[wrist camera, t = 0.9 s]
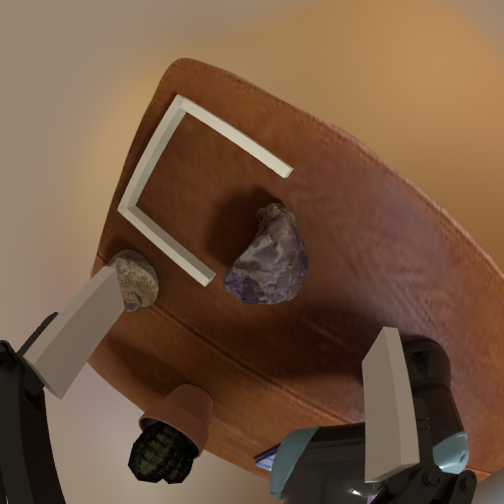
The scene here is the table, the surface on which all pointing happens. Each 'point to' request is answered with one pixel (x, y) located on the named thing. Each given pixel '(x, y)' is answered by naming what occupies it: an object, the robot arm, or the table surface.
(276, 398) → the table surface
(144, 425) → the potted plant
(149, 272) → the oyster shell
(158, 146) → the bay
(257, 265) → the rock
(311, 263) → the table surface
